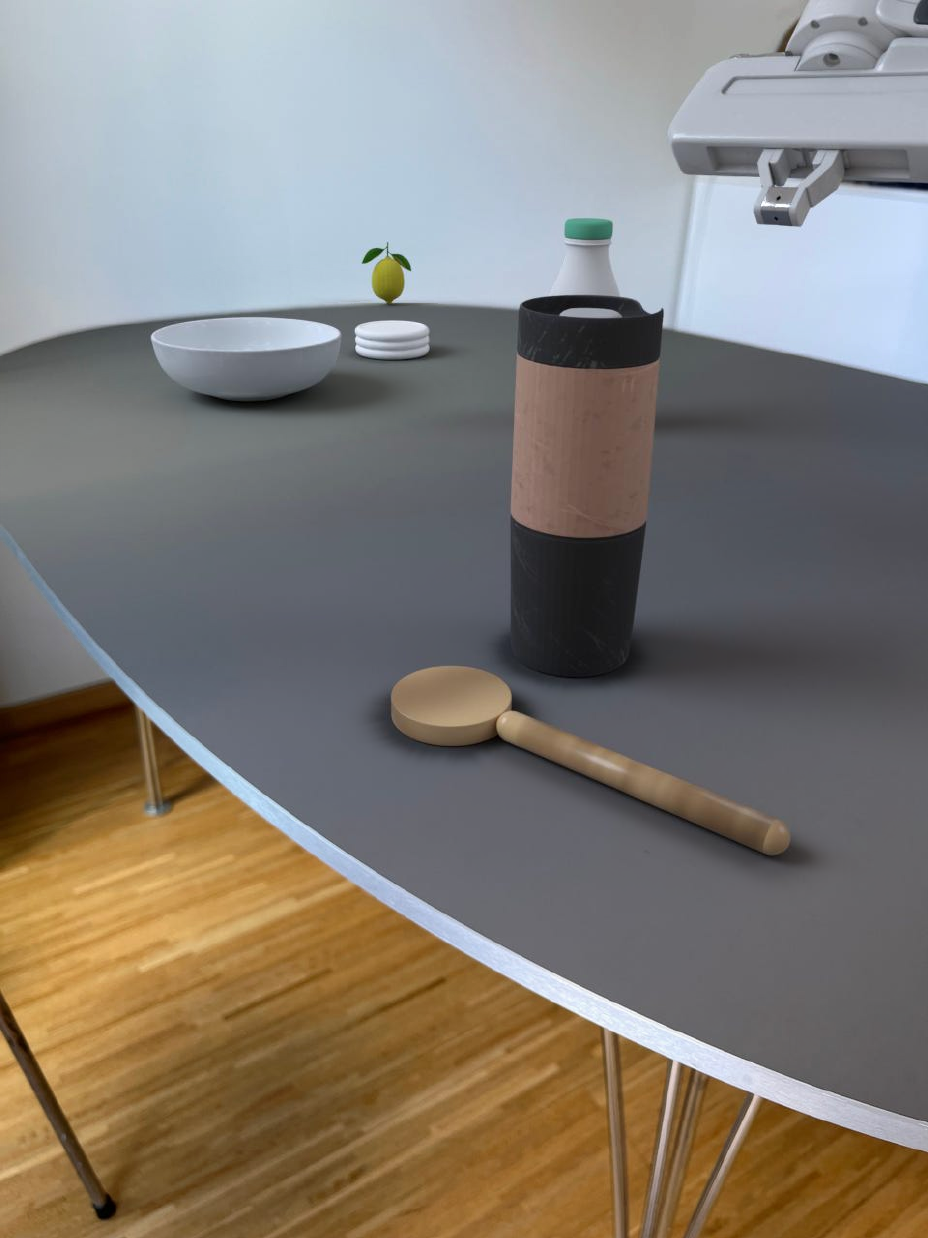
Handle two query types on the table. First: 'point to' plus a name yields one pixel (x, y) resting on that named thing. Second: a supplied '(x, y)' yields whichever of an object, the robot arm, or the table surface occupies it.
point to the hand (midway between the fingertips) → (776, 218)
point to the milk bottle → (586, 259)
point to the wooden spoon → (563, 750)
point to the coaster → (392, 340)
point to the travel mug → (580, 478)
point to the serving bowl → (247, 355)
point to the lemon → (387, 274)
